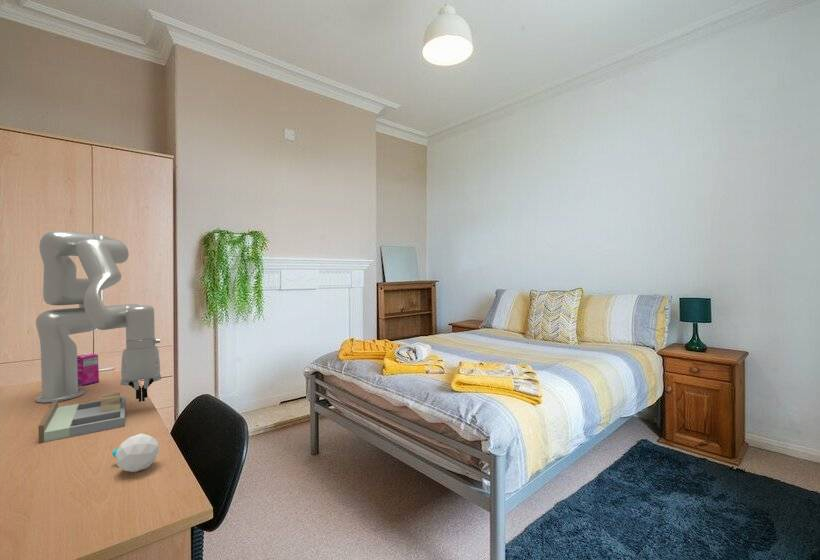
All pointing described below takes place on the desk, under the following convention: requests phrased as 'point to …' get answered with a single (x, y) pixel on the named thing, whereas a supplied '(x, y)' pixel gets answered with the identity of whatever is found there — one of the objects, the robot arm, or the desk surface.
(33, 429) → the desk surface
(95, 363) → the supplement box
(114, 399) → the maple block
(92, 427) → the board
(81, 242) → the robot arm
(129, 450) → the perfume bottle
